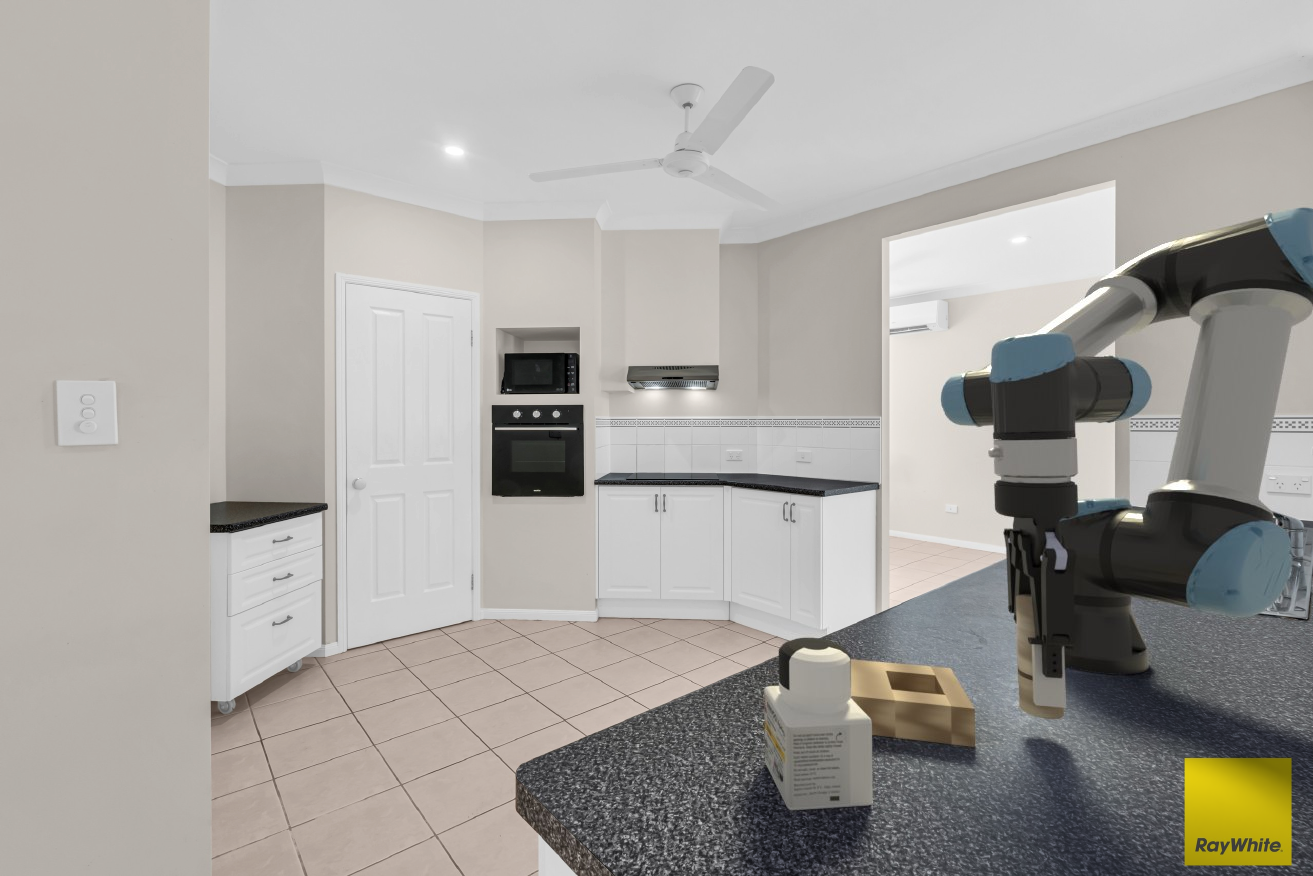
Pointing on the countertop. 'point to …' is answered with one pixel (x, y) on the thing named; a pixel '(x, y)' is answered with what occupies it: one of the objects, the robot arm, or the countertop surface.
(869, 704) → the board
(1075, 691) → the countertop surface
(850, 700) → the container
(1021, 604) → the peg
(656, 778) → the countertop surface
